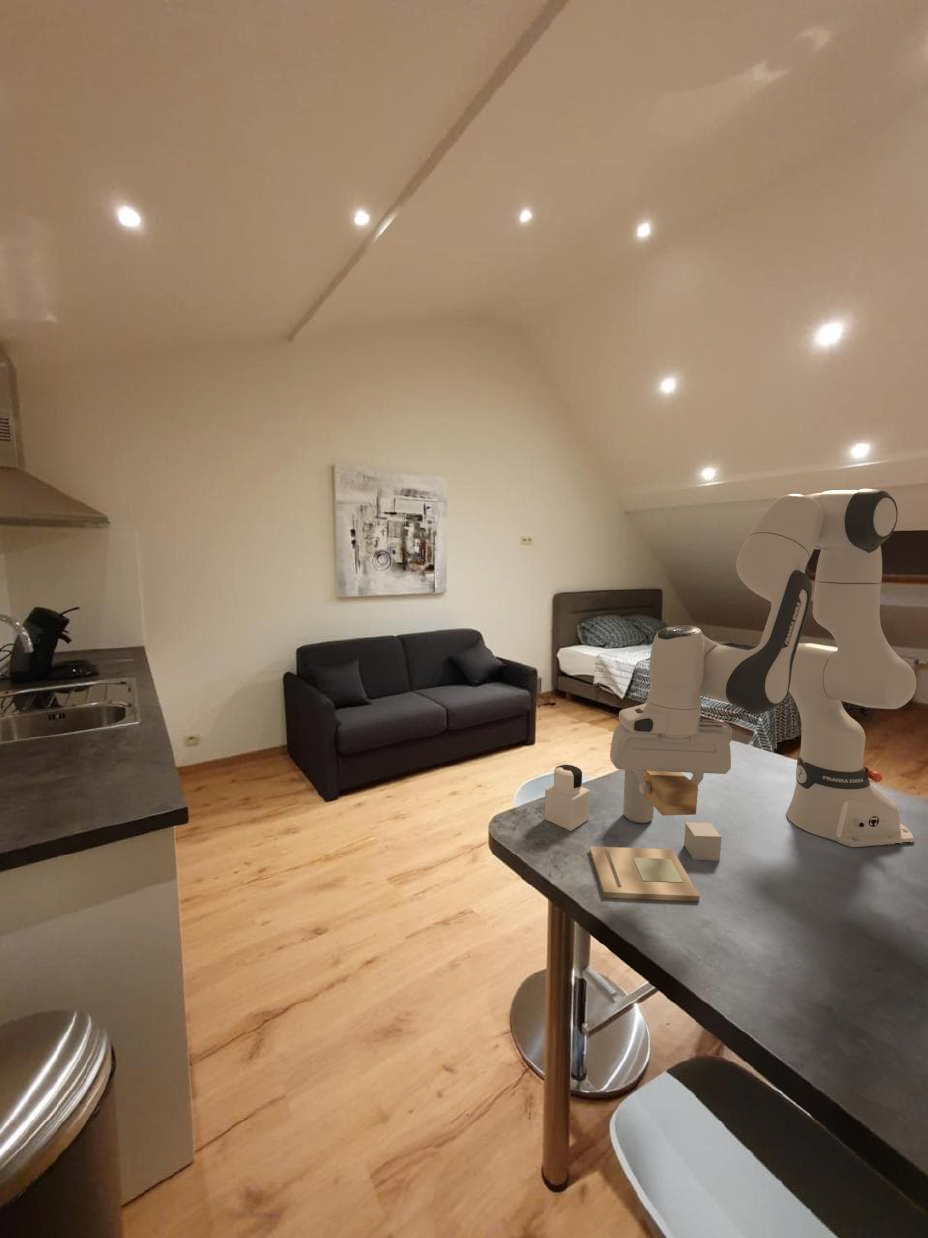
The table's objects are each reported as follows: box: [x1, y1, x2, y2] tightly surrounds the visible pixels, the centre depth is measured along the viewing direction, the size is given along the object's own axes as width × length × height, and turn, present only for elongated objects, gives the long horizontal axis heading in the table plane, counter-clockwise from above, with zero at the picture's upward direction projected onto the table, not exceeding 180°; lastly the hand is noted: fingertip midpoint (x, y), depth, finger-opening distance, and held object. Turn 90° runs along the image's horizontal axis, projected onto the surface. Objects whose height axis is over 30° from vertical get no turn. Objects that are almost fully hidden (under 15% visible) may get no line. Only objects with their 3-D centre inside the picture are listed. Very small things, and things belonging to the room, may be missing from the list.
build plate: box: [589, 845, 700, 902], centre depth 97 cm, size 16×14×1 cm
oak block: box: [640, 771, 699, 817], centre depth 94 cm, size 6×9×5 cm, turn 6°
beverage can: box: [622, 770, 655, 824], centre depth 117 cm, size 6×6×12 cm
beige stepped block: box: [544, 764, 591, 832], centre depth 116 cm, size 7×7×12 cm
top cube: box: [683, 821, 722, 861], centre depth 104 cm, size 5×5×5 cm
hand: (666, 793), depth 94 cm, fingers closed on oak block, 6 cm apart
